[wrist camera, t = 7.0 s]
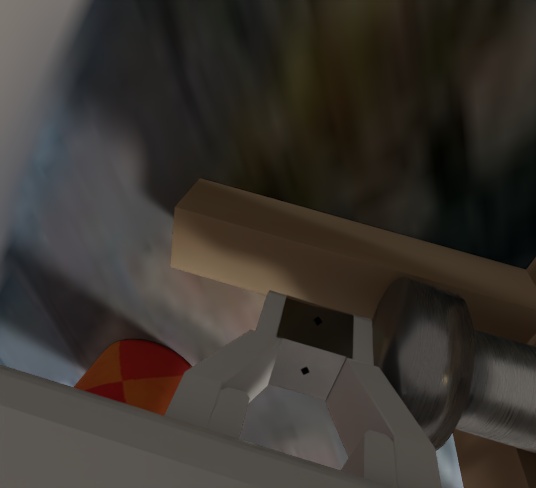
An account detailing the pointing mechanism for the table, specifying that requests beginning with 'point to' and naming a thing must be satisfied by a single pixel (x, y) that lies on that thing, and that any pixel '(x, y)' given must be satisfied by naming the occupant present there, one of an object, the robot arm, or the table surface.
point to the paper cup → (136, 374)
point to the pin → (454, 367)
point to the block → (355, 282)
